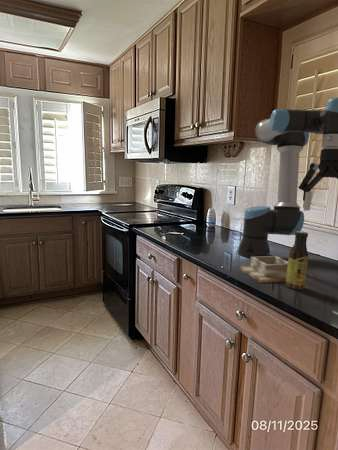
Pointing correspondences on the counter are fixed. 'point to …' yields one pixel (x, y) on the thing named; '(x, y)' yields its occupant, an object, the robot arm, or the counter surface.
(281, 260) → the caddy board
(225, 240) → the counter surface
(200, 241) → the counter surface
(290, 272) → the sauce bottle
